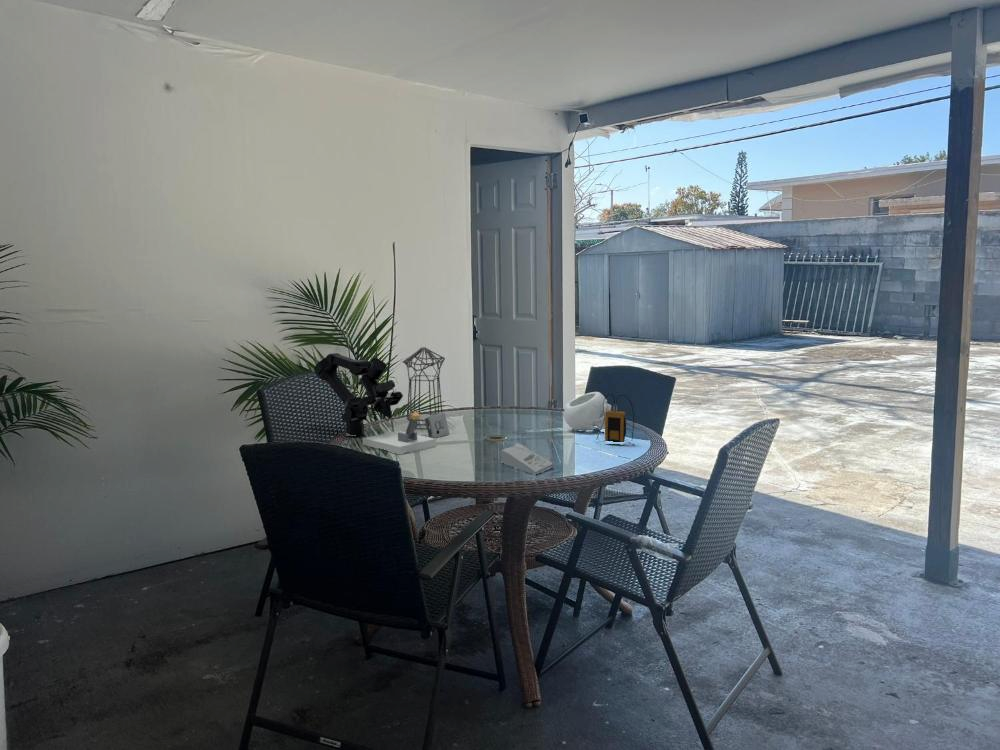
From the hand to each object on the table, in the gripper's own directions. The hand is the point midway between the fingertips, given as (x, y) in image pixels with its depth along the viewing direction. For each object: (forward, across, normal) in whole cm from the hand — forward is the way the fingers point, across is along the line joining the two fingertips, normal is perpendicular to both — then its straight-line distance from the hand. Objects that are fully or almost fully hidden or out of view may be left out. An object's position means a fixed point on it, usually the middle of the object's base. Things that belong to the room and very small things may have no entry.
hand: (390, 417), depth 293 cm
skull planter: (+38, +72, -23) cm, 85 cm away
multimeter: (+53, +61, -38) cm, 89 cm away
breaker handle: (+12, 0, -2) cm, 12 cm away
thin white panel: (+11, 0, +4) cm, 11 cm away
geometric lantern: (-2, +30, +17) cm, 34 cm away
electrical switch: (+9, +22, +6) cm, 25 cm away
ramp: (+50, +11, -35) cm, 62 cm away
